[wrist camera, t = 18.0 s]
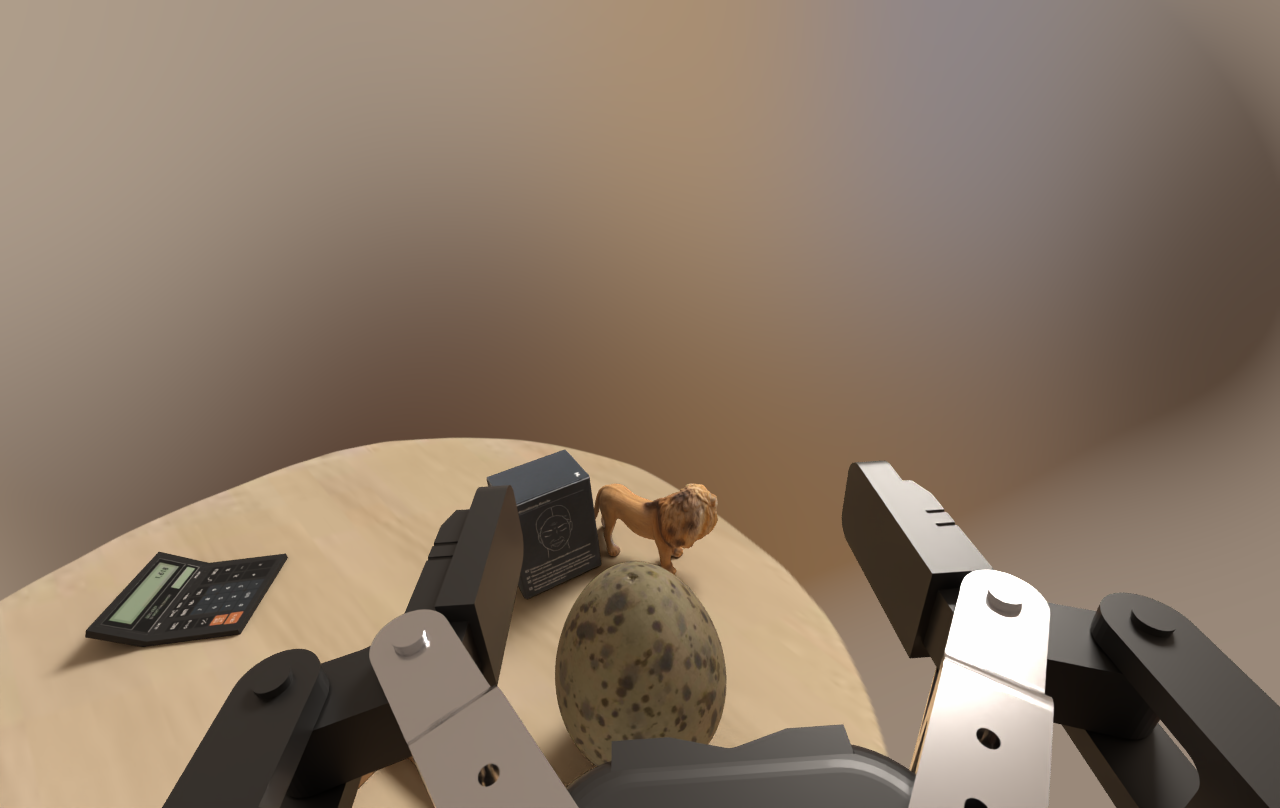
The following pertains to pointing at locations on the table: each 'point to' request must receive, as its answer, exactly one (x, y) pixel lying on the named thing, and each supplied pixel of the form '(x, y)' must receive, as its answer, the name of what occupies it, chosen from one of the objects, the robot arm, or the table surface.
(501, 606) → the robot arm
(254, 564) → the calculator
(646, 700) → the decorative egg
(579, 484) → the box
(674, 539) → the lion figurine
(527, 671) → the table surface
